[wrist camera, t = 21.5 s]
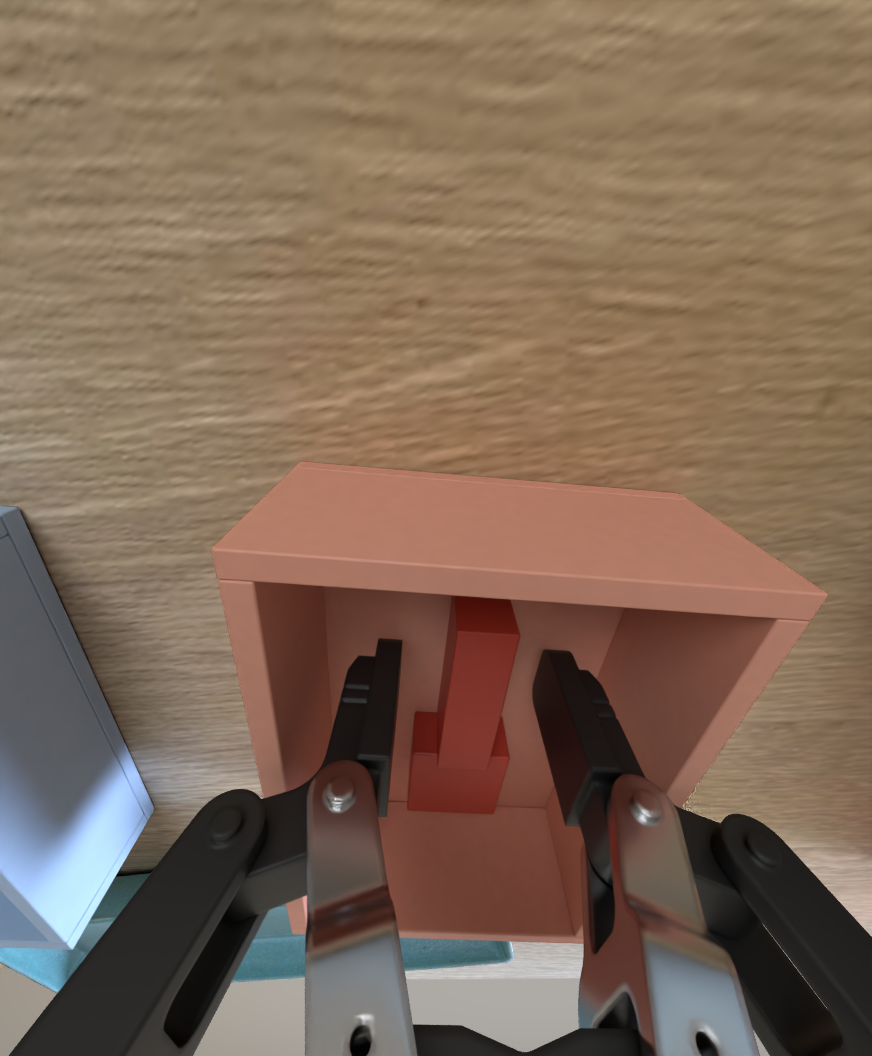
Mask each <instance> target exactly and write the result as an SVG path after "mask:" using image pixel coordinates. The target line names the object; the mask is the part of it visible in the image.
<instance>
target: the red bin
mask: <svg viewBox="0 0 872 1056" xmlns="http://www.w3.org/2000/svg"><path fill="white" fill-rule="evenodd" d="M212 555H213V560H214V565H215V569H216V574H217V578H218V579H219V581H218V583H219V588H220V593H221V597H222V602H223V607H224V612H225V616H226V621H227V626H228V631H229V636H230V640H231V645H232V650H233V655H234V659H235V664H236V669H237V674H238V678H239V683H240V688H241V693H242V698H243V702H244V707H245V712H246V717H247V721H248V726H249V731H250V736H251V740H252V745H253V750H254V755H255V760H256V764H257V769H258V774H259V779H260V783H261V788H262V793H263V798H267V797H270V796H273V795H277V794H280V793H283V792H287V791H290V790H293V789H295V788H297V787H299V786H301V785H303V784H304V783H306V782H307V781H308V780H310V779H311V778H312V777H313V776H314V775H315V774H316V772H317V771H318V770H319V768H320V767H321V765H322V763H323V761H324V759H325V756H326V752H327V749H328V745H329V741H330V737H331V733H332V729H333V725H334V721H335V717H336V713H337V710H338V706H339V703H340V698H341V694H342V690H343V688H344V682H345V678H346V674H347V671H348V668H349V667H350V666H351V664H352V663H353V662H354V661H355V659H356V658H357V657H358V656H359V655H361V656H375V654H376V648H377V643H378V639H379V638H385V639H400V640H403V644H402V659H401V675H400V688H399V699H398V709H397V719H396V729H395V739H394V749H393V759H392V769H391V779H390V789H389V799H388V810H387V817H378V820H379V827H380V834H381V841H382V847H383V854H384V861H385V868H386V875H387V881H388V887H389V893H390V897H391V899H392V901H393V905H394V909H395V914H396V919H397V925H398V931H399V938H424V939H455V940H486V941H516V942H547V943H577V944H584V941H583V915H582V888H581V861H580V851H581V846H582V844H583V842H584V839H583V836H582V832H581V829H580V827H575V826H565V823H564V819H563V816H562V812H561V808H560V804H559V800H558V797H557V793H556V789H555V785H554V782H553V778H552V774H551V770H550V766H549V763H548V759H547V755H546V751H545V747H544V744H543V740H542V736H541V732H540V728H539V725H538V721H537V717H536V713H535V709H534V705H533V699H532V687H533V682H534V679H535V675H536V672H537V668H538V665H539V661H540V658H541V655H542V652H543V650H544V649H550V650H566V651H570V652H571V653H572V654H573V656H574V659H575V661H576V663H577V666H578V668H579V670H589V672H590V673H591V674H592V675H593V676H594V677H595V678H596V679H597V680H598V681H599V682H600V684H601V685H602V687H603V689H604V691H605V693H606V695H607V697H608V699H609V701H610V702H609V704H610V705H611V706H612V708H613V710H614V712H615V714H616V719H618V721H619V723H620V725H621V727H622V729H623V731H624V733H625V735H626V738H627V740H628V742H629V744H630V746H631V748H632V750H633V752H634V755H635V757H636V759H637V761H638V763H639V765H640V767H641V769H642V771H643V773H644V775H645V777H646V778H647V779H648V780H650V781H651V782H653V783H654V784H656V785H657V786H658V787H659V788H661V789H662V790H663V791H664V792H665V793H666V795H667V796H668V797H669V798H670V800H671V801H672V803H673V804H674V805H676V806H677V807H679V808H681V807H682V806H683V804H684V803H685V801H686V800H687V799H688V797H689V796H690V794H691V793H692V791H693V790H694V788H695V787H696V786H697V784H698V783H699V781H700V780H701V778H702V777H703V775H704V774H705V773H706V771H707V770H708V768H709V767H710V765H711V764H712V763H713V761H714V760H715V758H716V757H717V755H718V754H719V752H720V751H721V750H722V748H723V747H724V745H725V744H726V742H727V741H728V739H729V738H730V737H731V735H732V734H733V732H734V731H735V729H736V728H737V727H738V725H739V724H740V722H741V721H742V719H743V718H744V716H745V715H746V714H747V712H748V711H749V709H750V708H751V706H752V705H753V703H754V702H755V701H756V699H757V698H758V696H759V695H760V693H761V692H762V691H763V689H764V688H765V686H766V685H767V683H768V682H769V680H770V679H771V678H772V676H773V675H774V673H775V672H776V670H777V669H778V667H779V666H780V665H781V663H782V662H783V660H784V659H785V657H786V656H787V655H788V653H789V652H790V650H791V649H792V647H793V646H794V644H795V643H796V642H797V640H798V639H799V637H800V636H801V634H802V633H803V631H804V630H805V629H806V627H807V626H808V624H809V621H810V620H812V618H813V617H814V616H815V614H816V613H817V611H818V610H819V608H820V607H821V605H822V604H823V603H824V601H825V600H826V598H827V597H828V594H827V593H826V592H824V591H823V590H821V589H820V588H818V587H817V586H815V585H814V584H812V583H811V582H809V581H808V580H806V579H805V578H804V577H802V576H801V575H799V574H798V573H796V572H795V571H793V570H792V569H790V568H789V567H787V566H786V565H784V564H783V563H781V562H780V561H778V560H777V559H775V558H774V557H772V556H771V555H769V554H768V553H766V552H765V551H764V550H762V549H761V548H759V547H758V546H756V545H755V544H753V543H752V542H750V541H749V540H747V539H746V538H744V537H743V536H741V535H740V534H738V533H737V532H735V531H734V530H732V529H731V528H729V527H728V526H727V525H725V524H724V523H722V522H721V521H719V520H718V519H716V518H715V517H713V516H712V515H710V514H709V513H707V512H706V511H704V510H703V509H701V508H700V507H698V506H697V505H695V504H694V503H692V502H691V501H689V500H688V499H687V498H685V497H684V496H682V495H681V494H679V493H669V492H657V491H645V490H633V489H622V488H610V487H598V486H586V485H574V484H562V483H550V482H538V481H527V480H515V479H503V478H491V477H479V476H467V475H455V474H443V473H432V472H420V471H408V470H396V469H384V468H372V467H360V466H348V465H337V464H325V463H313V462H299V463H298V464H297V465H296V466H295V468H293V469H292V470H291V471H290V472H289V473H288V474H287V475H286V476H285V477H284V478H283V479H282V480H281V481H280V482H279V483H278V484H277V485H276V486H275V487H274V488H273V489H272V490H271V491H270V492H269V493H268V494H267V495H266V496H265V497H264V498H263V499H262V500H261V501H260V502H259V503H258V504H257V505H255V506H254V507H253V508H252V509H251V510H250V511H249V512H248V513H247V514H246V515H245V516H244V517H243V518H242V519H241V520H240V521H239V522H238V523H237V524H236V525H235V526H234V527H233V528H232V529H231V530H230V531H229V532H228V533H227V534H226V535H225V536H224V537H223V538H222V539H221V540H220V541H219V542H218V543H217V544H216V545H215V546H214V547H213V548H212ZM452 596H466V597H480V598H494V599H509V600H511V603H512V607H513V610H514V614H515V618H516V621H517V625H518V628H519V632H520V640H519V644H518V648H517V652H516V656H515V660H514V664H513V668H512V672H511V676H510V680H509V685H508V689H507V693H506V697H505V701H504V705H503V709H502V713H501V716H502V718H503V722H504V727H505V733H506V739H507V745H508V750H509V756H510V759H509V763H508V766H507V770H506V773H505V777H504V780H503V784H502V787H501V791H500V794H499V798H498V801H497V805H496V808H495V812H494V814H473V813H451V812H428V811H409V810H408V809H407V801H408V784H409V767H410V756H411V745H412V734H413V723H414V714H415V712H417V711H419V712H437V708H438V700H439V692H440V685H441V677H442V669H443V662H444V654H445V646H446V639H447V631H448V623H449V616H450V608H451V600H452ZM286 907H287V912H288V917H289V922H290V926H291V930H292V933H293V934H302V935H306V927H307V895H306V896H304V897H301V898H299V899H296V900H294V901H291V902H289V903H286Z"/></svg>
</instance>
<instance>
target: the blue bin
mask: <svg viewBox="0 0 872 1056" xmlns="http://www.w3.org/2000/svg"><path fill="white" fill-rule="evenodd" d="M153 811H154V806H153V804H152V802H151V800H150V798H149V795H148V793H147V791H146V789H145V786H144V784H143V782H142V780H141V778H140V775H139V773H138V771H137V769H136V767H135V764H134V762H133V760H132V758H131V756H130V753H129V751H128V749H127V747H126V744H125V742H124V740H123V738H122V736H121V733H120V731H119V729H118V727H117V725H116V722H115V720H114V718H113V716H112V714H111V711H110V709H109V707H108V705H107V702H106V700H105V698H104V696H103V694H102V691H101V689H100V687H99V685H98V683H97V680H96V678H95V676H94V674H93V672H92V669H91V667H90V665H89V663H88V660H87V658H86V656H85V654H84V652H83V649H82V647H81V645H80V643H79V641H78V638H77V636H76V634H75V632H74V630H73V627H72V625H71V623H70V621H69V618H68V616H67V614H66V612H65V610H64V607H63V605H62V603H61V601H60V599H59V596H58V594H57V592H56V590H55V588H54V585H53V583H52V581H51V579H50V576H49V574H48V572H47V570H46V568H45V565H44V563H43V561H42V559H41V557H40V554H39V552H38V550H37V548H36V546H35V543H34V541H33V539H32V537H31V534H30V532H29V530H28V528H27V526H26V523H25V521H24V519H23V517H22V515H21V512H20V510H19V508H17V507H7V506H0V947H1V948H34V949H67V950H71V949H73V948H74V946H75V945H76V943H77V941H78V939H79V938H80V936H81V934H82V933H83V931H84V929H85V928H86V926H87V924H88V922H89V921H90V919H91V917H92V916H93V914H94V912H95V910H96V909H97V907H98V905H99V904H100V902H101V900H102V898H103V897H104V895H105V893H106V892H107V890H108V888H109V886H110V885H111V883H112V881H113V880H114V878H115V876H116V874H117V873H118V871H119V869H120V868H121V866H122V864H123V862H124V861H125V859H126V857H127V856H128V854H129V852H130V850H131V849H132V847H133V845H134V844H135V842H136V840H137V839H138V837H139V835H140V833H141V832H142V830H143V828H144V827H145V825H146V823H147V820H149V818H150V816H151V814H152V813H153Z"/></svg>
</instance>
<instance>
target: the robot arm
mask: <svg viewBox="0 0 872 1056" xmlns="http://www.w3.org/2000/svg"><path fill="white" fill-rule="evenodd" d="M402 644H403V640H400V639H385V638H379V639H378V643H377V648H376V654H375V656H361V655H359V656H358V657H357V658H356V659H355V661H354V662H353V663H352V664H351V666H350V667H349V668H348V671H347V674H346V678H345V682H344V688H343V690H342V694H341V698H340V703H339V706H338V710H337V713H336V717H335V721H334V725H333V729H332V733H331V737H330V741H329V745H328V749H327V752H326V756H325V759H324V761H323V763H322V765H321V767H320V768H319V770H318V771H317V772H316V774H315V775H314V776H313V777H312V778H311V779H310V780H308V781H307V782H306V783H304V784H303V785H301V786H299V787H297V788H295V789H293V790H290V791H287V792H283V793H280V794H277V795H273V796H270V797H267V798H263V799H260V797H259V796H258V795H257V794H256V793H254V792H252V791H250V790H246V789H235V790H231V791H227V792H225V793H222V794H220V795H218V796H217V797H215V798H214V799H212V800H211V801H209V802H208V803H207V804H206V805H205V806H204V807H203V808H202V809H201V810H200V811H199V812H198V813H197V815H196V816H195V817H194V819H193V820H192V821H191V822H190V824H189V825H188V826H187V828H186V829H185V830H184V831H183V833H182V834H181V835H180V837H179V838H178V839H177V840H176V842H175V843H174V844H173V846H172V847H171V848H170V849H169V851H168V852H167V853H166V855H165V856H164V857H163V858H162V860H161V861H160V862H159V864H158V865H157V866H156V867H155V869H154V870H153V871H152V872H151V874H150V875H149V876H148V878H147V879H146V880H145V881H144V883H143V884H142V885H141V887H140V888H139V889H138V890H137V892H136V893H135V894H134V896H133V897H132V898H131V899H130V901H129V902H128V903H127V905H126V906H125V907H124V908H123V910H122V911H121V912H120V914H119V915H118V916H117V917H116V919H115V920H114V921H113V923H112V924H111V925H110V926H109V928H108V929H107V930H106V932H105V933H104V934H103V935H102V937H101V938H100V939H99V940H98V942H97V943H96V944H95V946H94V947H93V948H92V949H91V951H90V952H89V953H88V955H87V956H86V957H85V958H84V960H83V961H82V962H81V964H80V965H79V966H78V967H77V969H76V970H75V971H74V973H73V974H72V975H71V976H70V978H69V979H68V980H67V982H66V983H65V984H64V985H63V987H62V988H61V989H60V991H59V992H58V993H57V994H56V996H55V997H54V998H53V1000H52V1001H51V1002H50V1003H49V1005H48V1006H47V1007H46V1009H45V1010H44V1011H43V1012H42V1014H41V1015H40V1016H39V1017H38V1019H37V1020H36V1021H35V1023H34V1024H33V1025H32V1026H31V1028H30V1029H29V1030H28V1032H27V1033H26V1034H25V1035H24V1037H23V1038H22V1039H21V1041H20V1042H19V1043H18V1044H17V1046H16V1047H15V1048H14V1050H13V1051H12V1052H11V1053H10V1055H9V1056H193V1055H194V1053H195V1051H196V1049H197V1047H198V1045H199V1043H200V1041H201V1039H202V1037H203V1035H204V1034H205V1031H206V1030H207V1028H208V1026H209V1024H210V1022H211V1020H212V1018H213V1016H214V1014H215V1012H216V1011H217V1009H218V1007H219V1005H220V1003H221V1001H222V999H223V997H224V995H225V993H226V991H227V989H228V987H229V986H230V983H231V982H232V980H233V978H234V976H235V974H236V972H237V970H238V968H239V966H240V964H241V963H242V961H243V959H244V957H245V955H246V953H247V951H248V949H249V947H250V945H251V943H252V941H253V940H254V938H255V936H256V934H257V932H258V930H259V928H260V926H261V924H262V922H263V920H264V918H265V917H266V915H267V913H268V911H269V910H271V909H273V908H276V907H279V906H281V905H284V904H286V903H289V902H291V901H294V900H296V899H299V898H301V897H304V896H306V895H307V927H306V936H305V1056H760V1054H759V1050H758V1046H757V1043H756V1039H755V1036H754V1032H753V1030H754V1031H755V1033H756V1034H757V1036H758V1037H759V1039H760V1040H761V1042H762V1044H763V1045H764V1047H765V1048H766V1050H767V1052H768V1053H769V1055H770V1056H872V937H871V936H870V935H869V934H868V933H867V931H866V930H865V929H864V928H863V927H862V926H861V925H860V924H859V923H858V922H857V921H856V919H855V918H854V917H853V916H852V915H851V914H850V913H849V912H848V911H847V910H846V909H845V908H844V906H843V905H842V904H841V903H840V902H839V901H838V900H837V899H836V898H835V897H834V896H833V894H832V893H831V892H830V891H829V890H828V889H827V888H826V887H825V886H824V885H823V884H822V883H821V881H820V880H819V879H818V878H817V877H816V876H815V875H814V874H813V873H812V872H811V871H810V869H809V868H808V867H807V866H806V865H805V864H804V863H803V862H802V861H801V860H800V859H799V857H798V856H797V855H796V854H795V853H794V852H793V851H792V850H791V849H790V848H789V847H788V846H787V844H786V843H785V842H784V841H783V840H782V839H781V838H780V837H779V836H778V835H777V834H776V833H775V832H773V831H772V830H771V829H770V828H768V827H767V826H766V825H764V824H763V823H761V822H759V821H758V820H756V819H754V818H752V817H749V816H746V815H742V814H731V815H728V816H727V817H725V819H724V820H723V821H722V822H721V823H718V822H715V821H713V820H710V819H707V818H705V817H702V816H699V815H697V814H694V813H692V812H689V811H686V810H684V809H682V808H679V807H677V806H676V805H674V804H673V803H672V801H671V800H670V798H669V797H668V796H667V795H666V793H665V792H664V791H663V790H662V789H661V788H659V787H658V786H657V785H656V784H654V783H653V782H651V781H650V780H648V779H647V778H646V777H645V775H644V773H643V771H642V769H641V767H640V765H639V763H638V761H637V759H636V757H635V755H634V752H633V750H632V748H631V746H630V744H629V742H628V740H627V738H626V735H625V733H624V731H623V729H622V727H621V725H620V723H619V721H618V719H616V714H615V712H614V710H613V708H612V706H611V705H610V704H609V702H610V701H609V699H608V697H607V695H606V693H605V691H604V689H603V687H602V685H601V684H600V682H599V681H598V680H597V679H596V678H595V677H594V676H593V675H592V674H591V673H590V672H589V670H579V668H578V666H577V663H576V661H575V659H574V656H573V654H572V653H571V652H570V651H566V650H550V649H544V650H543V652H542V655H541V658H540V661H539V665H538V668H537V672H536V675H535V679H534V682H533V687H532V699H533V705H534V709H535V713H536V717H537V721H538V725H539V728H540V732H541V736H542V740H543V744H544V747H545V751H546V755H547V759H548V763H549V766H550V770H551V774H552V778H553V782H554V785H555V789H556V793H557V797H558V800H559V804H560V808H561V812H562V816H563V819H564V823H565V826H575V827H580V829H581V832H582V836H583V839H584V842H583V844H582V846H581V851H580V861H581V888H582V915H583V941H584V958H583V967H582V972H581V977H580V985H579V1000H578V1002H579V1003H578V1015H579V1029H578V1030H575V1031H573V1032H571V1033H569V1034H567V1035H565V1036H563V1037H560V1038H558V1039H556V1040H554V1041H552V1042H550V1043H548V1044H545V1045H543V1046H541V1047H539V1048H537V1049H535V1050H532V1051H530V1052H520V1051H517V1050H515V1049H513V1048H511V1047H508V1046H506V1045H504V1044H502V1043H499V1042H497V1041H495V1040H493V1039H490V1038H488V1037H486V1036H484V1035H481V1034H479V1033H477V1032H475V1031H473V1030H470V1029H468V1028H466V1027H464V1026H459V1025H413V1023H412V1017H411V1010H410V1004H409V997H408V991H407V984H406V977H405V971H404V964H403V958H402V951H401V945H400V938H399V931H398V925H397V919H396V914H395V909H394V905H393V901H392V899H391V897H390V893H389V887H388V881H387V875H386V868H385V861H384V854H383V847H382V841H381V834H380V827H379V820H378V817H387V810H388V799H389V789H390V779H391V769H392V759H393V749H394V739H395V729H396V719H397V709H398V699H399V688H400V675H401V659H402ZM762 923H763V924H764V925H763V924H762ZM764 926H765V927H766V928H767V929H766V928H765V927H764ZM767 930H768V931H769V932H770V933H769V932H768V931H767ZM770 934H771V935H772V936H773V937H772V936H771V935H770ZM773 938H774V939H775V940H776V941H775V940H774V939H773ZM776 942H777V943H778V944H779V945H780V946H779V945H778V944H777V943H776ZM780 947H781V948H782V949H783V950H782V949H781V948H780ZM783 951H784V952H785V953H786V954H785V953H784V952H783ZM786 955H787V956H788V957H789V958H788V957H787V956H786ZM789 959H790V960H791V961H792V962H791V961H790V960H789ZM792 963H793V964H794V965H795V966H794V965H793V964H792ZM795 967H796V968H797V969H798V970H799V971H798V970H797V969H796V968H795ZM799 972H800V973H801V974H802V975H801V974H800V973H799ZM802 976H803V977H804V978H805V979H804V978H803V977H802ZM805 980H806V981H807V982H808V983H807V982H806V981H805ZM808 984H809V985H810V986H811V988H812V989H813V990H814V991H815V993H816V994H817V995H818V996H817V995H816V994H815V993H814V991H813V990H812V989H811V988H810V986H809V985H808ZM818 997H819V998H820V999H821V1000H820V999H819V998H818ZM821 1001H822V1002H823V1003H824V1004H823V1003H822V1002H821ZM824 1005H825V1006H826V1007H827V1008H826V1007H825V1006H824ZM752 1028H753V1029H752Z"/></svg>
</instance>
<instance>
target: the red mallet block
mask: <svg viewBox="0 0 872 1056" xmlns="http://www.w3.org/2000/svg"><path fill="white" fill-rule="evenodd" d="M519 640H520V632H519V628H518V625H517V621H516V618H515V614H514V610H513V607H512V603H511V600H509V599H494V598H480V597H466V596H452V600H451V608H450V616H449V623H448V631H447V639H446V646H445V654H444V662H443V669H442V677H441V685H440V692H439V700H438V708H437V712H419V711H417V712H415V714H414V723H413V734H412V745H411V756H410V767H409V784H408V801H407V809H408V810H409V811H428V812H451V813H473V814H494V812H495V808H496V805H497V801H498V798H499V794H500V791H501V787H502V784H503V780H504V777H505V773H506V770H507V766H508V763H509V759H510V756H509V750H508V745H507V739H506V733H505V727H504V722H503V718H502V716H501V713H502V709H503V705H504V701H505V697H506V693H507V689H508V685H509V680H510V676H511V672H512V668H513V664H514V660H515V656H516V652H517V648H518V644H519Z"/></svg>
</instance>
